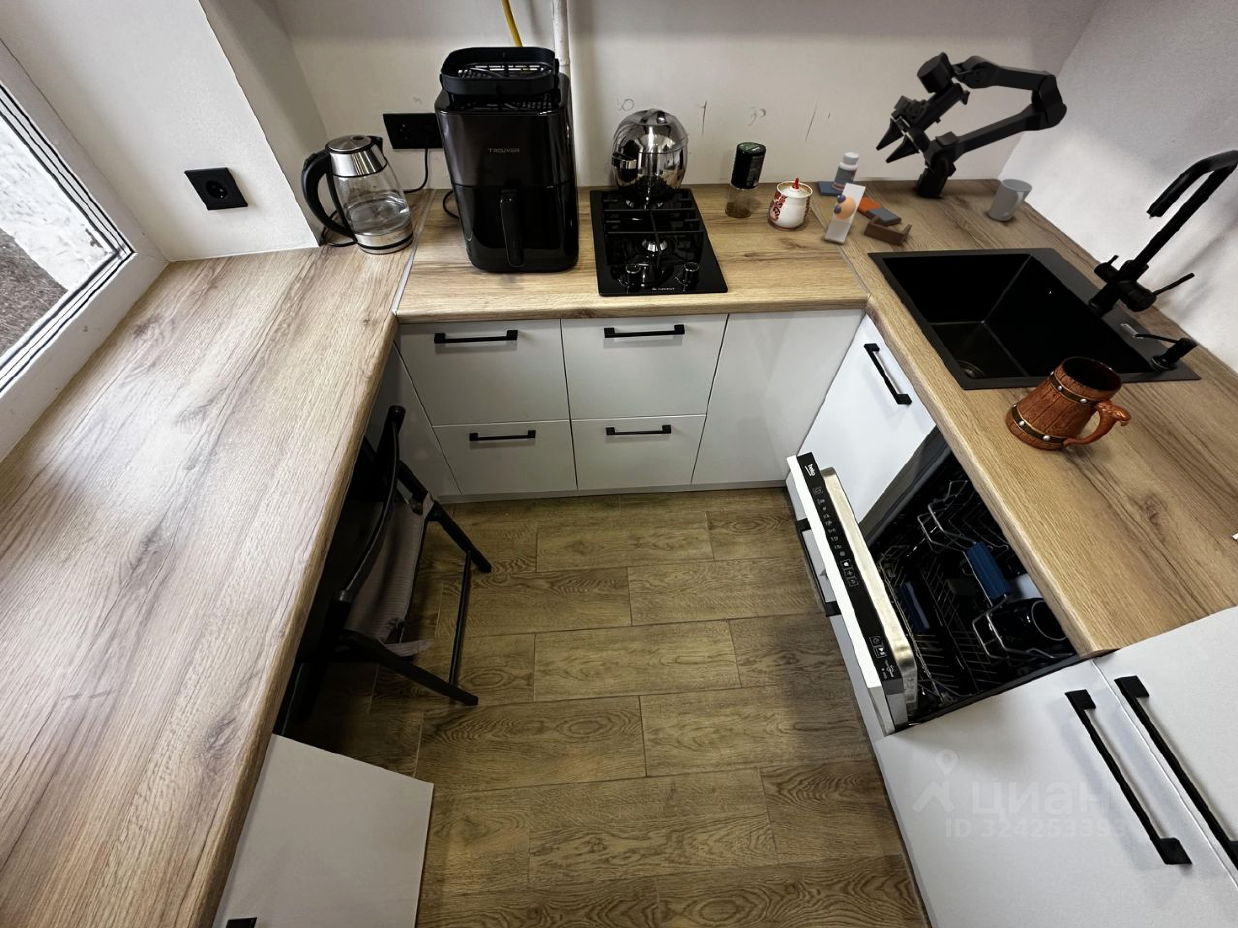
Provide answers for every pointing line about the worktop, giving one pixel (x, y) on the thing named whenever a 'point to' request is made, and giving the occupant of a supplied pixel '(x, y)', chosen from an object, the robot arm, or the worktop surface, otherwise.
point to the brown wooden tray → (886, 232)
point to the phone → (877, 212)
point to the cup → (1009, 198)
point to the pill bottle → (846, 171)
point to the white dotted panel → (844, 212)
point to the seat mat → (829, 188)
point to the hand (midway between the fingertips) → (881, 155)
